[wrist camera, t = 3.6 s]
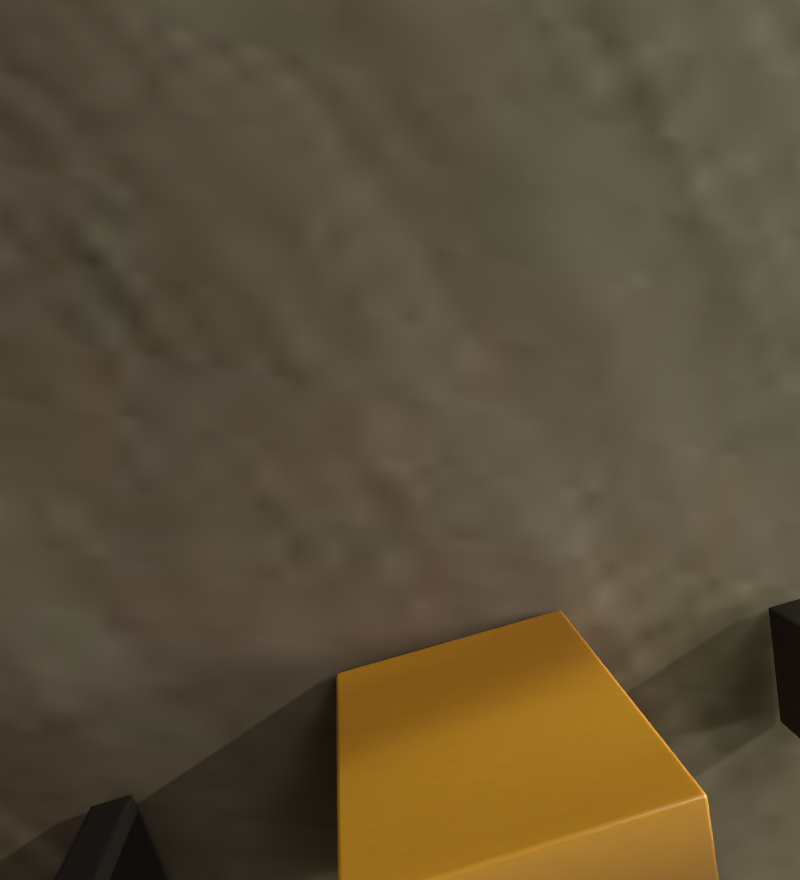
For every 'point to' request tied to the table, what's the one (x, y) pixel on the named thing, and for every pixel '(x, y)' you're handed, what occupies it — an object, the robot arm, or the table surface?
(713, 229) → the table surface
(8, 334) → the table surface
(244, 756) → the table surface
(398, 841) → the block
